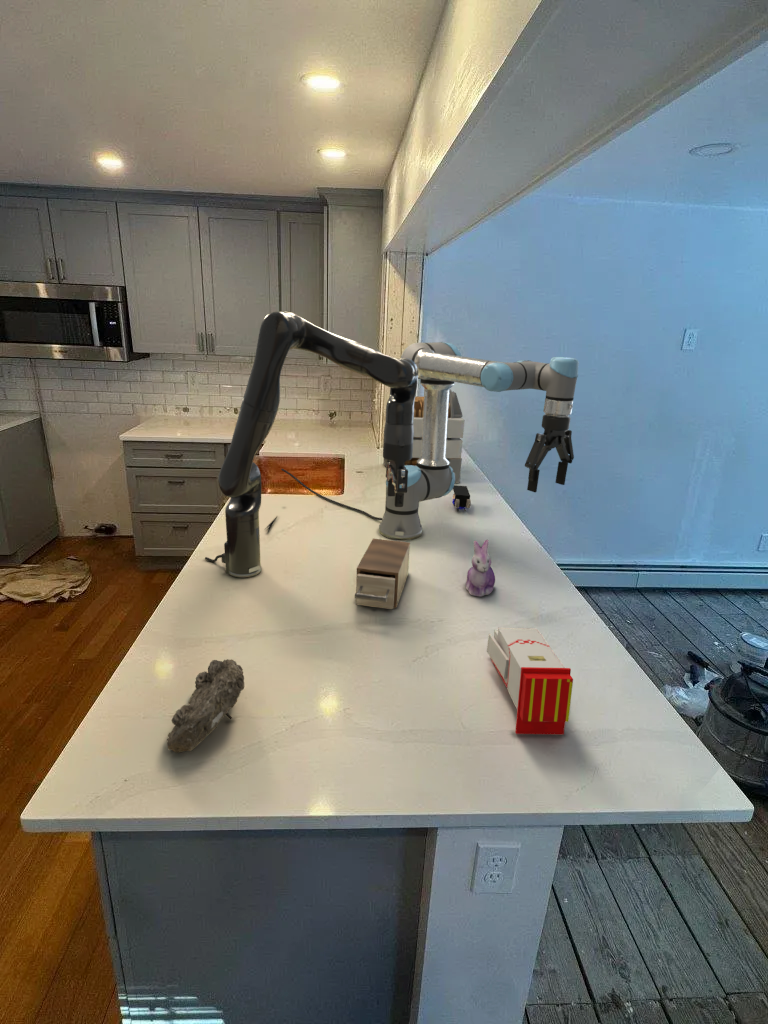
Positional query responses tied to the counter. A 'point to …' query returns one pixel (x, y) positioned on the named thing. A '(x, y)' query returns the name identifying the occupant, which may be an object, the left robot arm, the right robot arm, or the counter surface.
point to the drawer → (375, 590)
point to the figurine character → (461, 497)
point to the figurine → (480, 572)
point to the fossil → (206, 705)
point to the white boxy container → (453, 434)
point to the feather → (270, 524)
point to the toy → (532, 679)
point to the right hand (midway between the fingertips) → (546, 487)
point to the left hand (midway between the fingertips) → (395, 501)
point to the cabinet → (387, 562)
